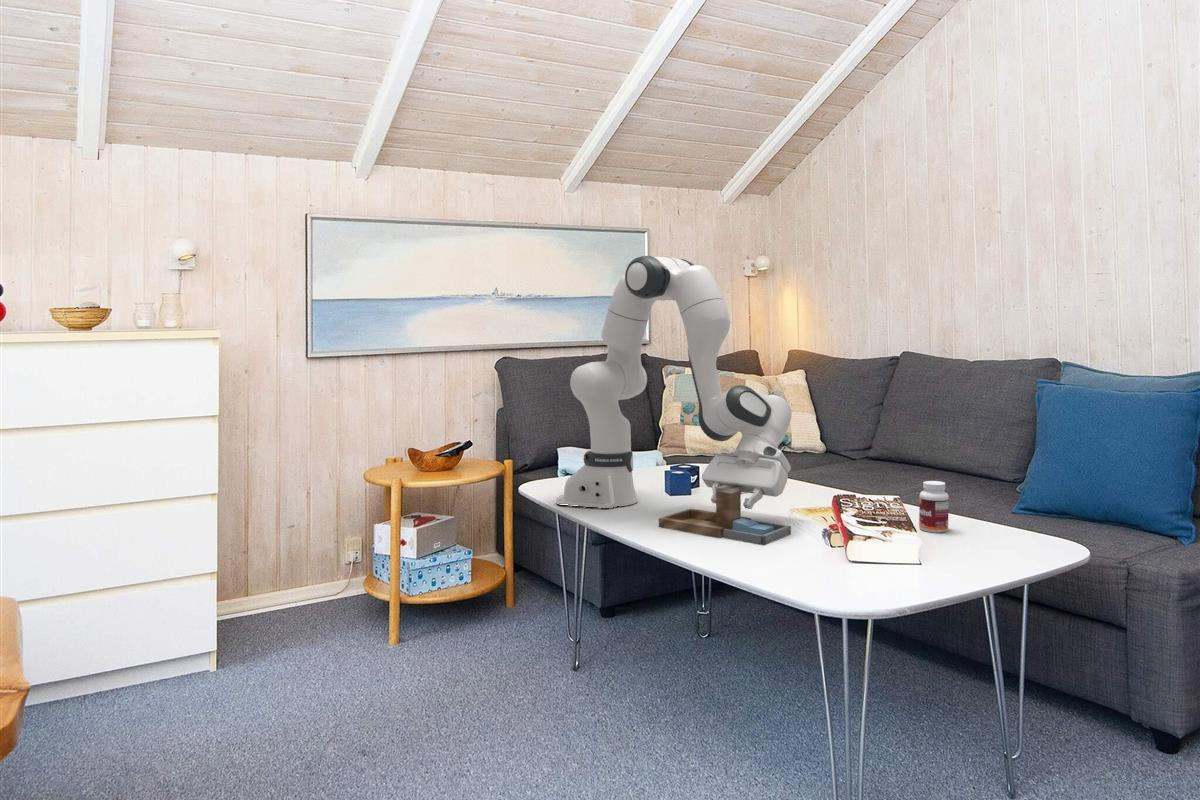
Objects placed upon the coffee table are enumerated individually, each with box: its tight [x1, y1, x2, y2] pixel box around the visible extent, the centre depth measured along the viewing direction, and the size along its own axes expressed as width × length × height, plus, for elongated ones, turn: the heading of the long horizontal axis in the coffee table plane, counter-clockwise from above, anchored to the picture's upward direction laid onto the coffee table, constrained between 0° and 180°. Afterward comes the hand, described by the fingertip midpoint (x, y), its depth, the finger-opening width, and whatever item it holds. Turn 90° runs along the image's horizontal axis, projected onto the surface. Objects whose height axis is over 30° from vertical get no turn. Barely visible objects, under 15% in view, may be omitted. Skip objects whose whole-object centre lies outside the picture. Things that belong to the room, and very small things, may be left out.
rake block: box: [715, 485, 742, 530], centre depth 179 cm, size 4×4×10 cm
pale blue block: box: [732, 518, 758, 533], centre depth 177 cm, size 4×4×3 cm
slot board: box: [658, 508, 752, 539], centre depth 184 cm, size 17×13×3 cm
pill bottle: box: [918, 480, 950, 534], centre depth 181 cm, size 6×6×11 cm
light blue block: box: [748, 524, 774, 535], centre depth 174 cm, size 4×4×3 cm
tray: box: [722, 519, 792, 546], centre depth 175 cm, size 10×12×3 cm
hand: (730, 504), depth 178 cm, fingers open, 7 cm apart
